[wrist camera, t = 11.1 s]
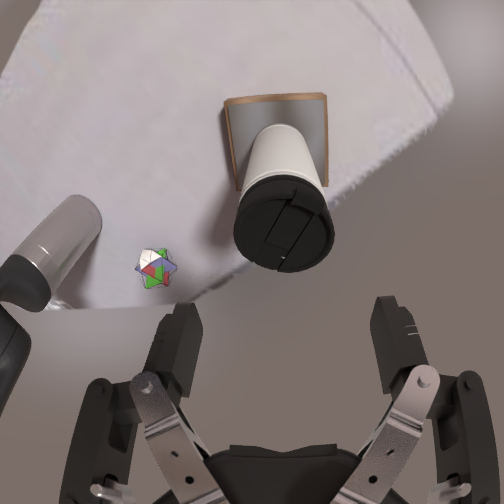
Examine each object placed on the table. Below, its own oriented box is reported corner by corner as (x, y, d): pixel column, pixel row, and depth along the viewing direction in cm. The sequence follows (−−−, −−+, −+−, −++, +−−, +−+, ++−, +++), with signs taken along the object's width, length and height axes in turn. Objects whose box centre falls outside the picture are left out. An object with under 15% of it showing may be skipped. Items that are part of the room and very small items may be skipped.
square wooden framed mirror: (239, 180, 40) (236, 192, 37) (228, 98, 33) (222, 102, 30) (324, 176, 38) (328, 188, 35) (322, 92, 31) (327, 95, 28)
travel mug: (316, 133, 31) (360, 218, 15) (292, 178, 35) (304, 294, 19) (267, 111, 30) (258, 172, 14) (245, 159, 34) (216, 263, 18)
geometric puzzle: (189, 279, 50) (162, 286, 42) (161, 290, 52) (133, 297, 44) (177, 241, 50) (148, 242, 43) (150, 254, 52) (121, 256, 45)
